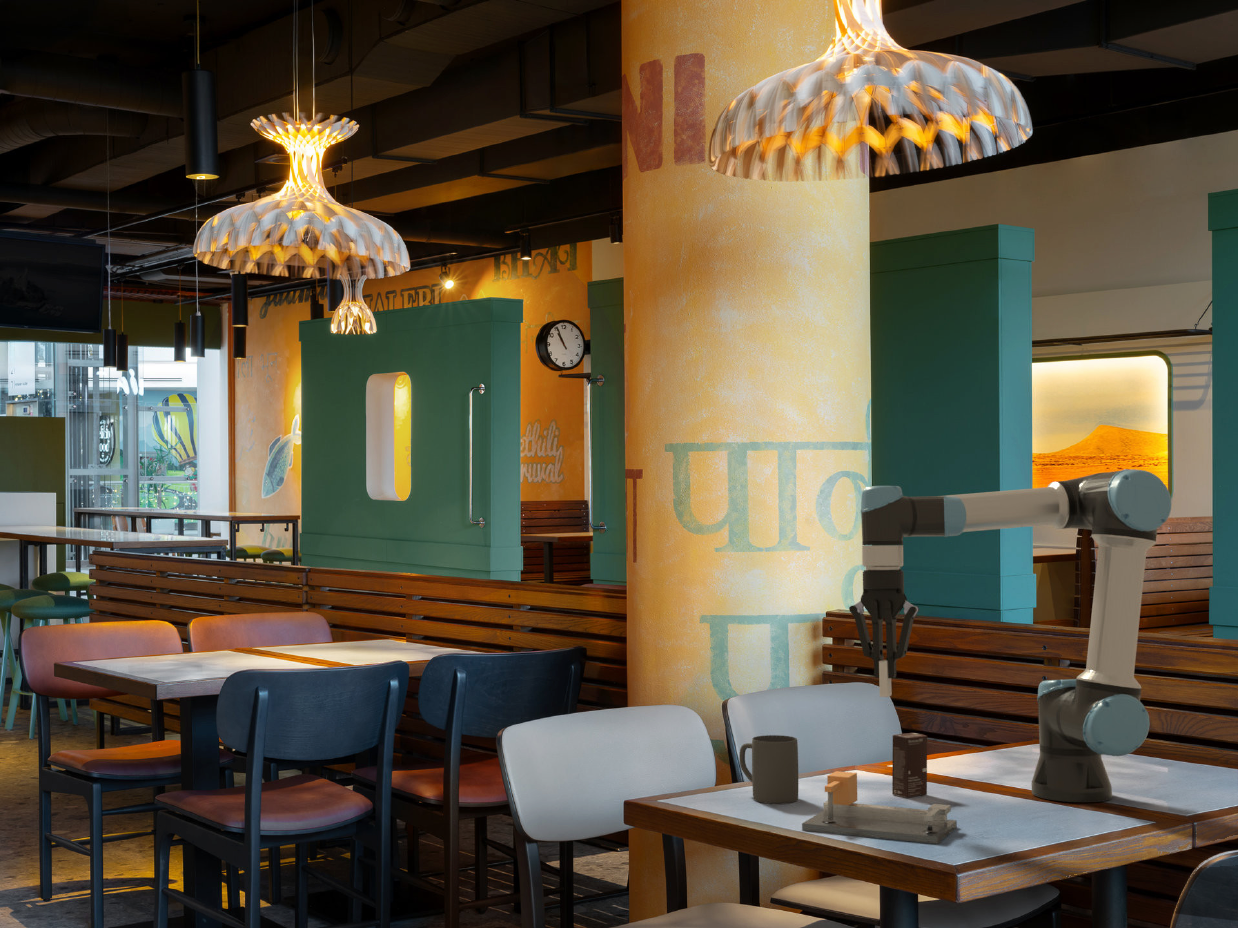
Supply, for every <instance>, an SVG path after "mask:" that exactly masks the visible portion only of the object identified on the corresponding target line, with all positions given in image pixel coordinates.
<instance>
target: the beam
mask: <svg viewBox="0 0 1238 928" xmlns="http://www.w3.org/2000/svg"><path fill="white" fill-rule="evenodd" d="M823 811H824V814H825V815H828V800H827V801H825V802H823ZM951 811H952V805H950V804H941V803H940V804H938V803H933V804H932V805H930V806H929V807H928V808H927V809H922V808H911V807H899V806H890V805H879V804H865V803H856V802H854V803H852V804H851V805H838V804H833V815H836V816H846V817H857V818H867V819H878V820H888V821H899V822H909V823H919V824H927V830H928V831H933V825H940V826H944V825H946V824H947V820H948V814H949V813H950V812H951Z"/></svg>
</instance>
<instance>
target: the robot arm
mask: <svg viewBox="0 0 1238 928" xmlns="http://www.w3.org/2000/svg"><path fill="white" fill-rule="evenodd" d="M860 499H861V501H860V513H861V514H860V515H861V538H862V539H861V540H862V543H861V550H862V551H861V553H862V554H861V559H862V561H861V562H862V566H863V568H865V569H864V570H863V571H862V594H861V596H860V601H858V602H857V603H855V604H854V605H853V604H852V605H850V606H849V607H848V610H849V612H850V613H851V615H852V617H853V618H854V622H855V626H856V628H857V633H858V637H859V641H860V646H861V648H862V653H863V654H862V655H864V657H866V658H869V659H872V661H873V675H874V678H875V679H879V683H878V684H879V687H878V688H879V698H880V697H881V698H888V697H891V696H892V695H893V694H892V692H893V691H892V690H893V689H892V679H895V678H896V677H897V661H898V659H902V658H904V657H906V655H907V652H908V648H909V643H910V639H911V634H912V629H913V625H914V624H913V623H914V620H915V617H916V616H917V614H918V613H919V611H920V607H918V606H917V605H914V604H912V603H910V602H909V601H908V599H907V596H906V594H905V581H904V580H905V573H904V571H903V569H901V568H902V567H903V566H904V541H903V540H904V538H909V537H911V538H912V537H944V538H948V537H955V536H956V537H957V536H959V535H961V534H962V533H965V532H967V533H968V532H978V531H992V530H1001V529H1004V530H1005V529H1014V528H1015V529H1016V528H1023V527H1024V528H1027V527H1039V526H1052V528H1054V529H1055V530H1063V529H1077V530H1078V529H1081V530H1082V529H1083V530H1091V535H1090V536H1091V538H1092V539H1093V541H1094V542H1095V543H1096V544H1097V546H1098V550H1097V559H1096V560H1097V561H1096V568H1095V579H1094V588H1093V589H1094V590H1093V599H1092V608H1091V618H1090V629H1089V634H1088V635H1089V638H1088V647H1087V657H1086V665H1085V667H1086V668H1085V669H1084V671H1083V672H1082V673H1080V674H1079V675H1078V676H1076V678H1075V679H1074V678H1072V679H1051V680H1050V679H1048V680H1042V681H1041V682H1040V683H1039V685H1038V689H1037V699H1036V700H1037V710H1038V711H1037V712H1038V732H1039V733H1038V734H1039V735H1038V738H1039V739H1038V740H1039V742H1038V743H1039V758H1038V759H1037V763H1036V766H1035V770H1034V772H1033V773H1034V774H1033V776H1032V780H1031V794H1032V795H1033V796H1035V797H1037V798H1041V799H1045V800H1050V801H1057V802H1066V803H1097V802H1098V803H1099V802H1105V801H1108V800H1111V799H1112V798H1113V787H1112V783H1111V781H1110V778H1109V776H1108V775H1109V774H1108V773H1107V770H1106V767H1105V765H1104V761H1103V759H1102V755H1104V756H1111V757H1112V756H1113V757H1121V756H1126V755H1129V754H1131V753H1133V752H1134V751H1136V750H1137V749H1138V748H1140V747H1141V746H1142V745H1143V744H1144V742H1145V740H1146V739H1147V736H1148V734H1149V730H1150V725H1151V723H1150V716H1149V713H1148V710H1147V709H1146V708H1145V705H1144V704H1143V703H1142V702H1141V697H1142V696H1141V695H1142V686H1141V684H1140V683H1139V682H1138V680H1137V679H1136V678H1135V667H1136V666H1135V665H1136V658H1137V649H1138V637H1139V630H1140V629H1139V628H1140V626H1139V625H1140V617H1141V609H1142V608H1141V607H1142V598H1143V589H1144V579H1145V578H1144V577H1145V569H1146V568H1145V567H1146V560H1147V559H1146V557H1147V552H1148V550H1150V548H1152V547H1154V546H1155V545H1156V544H1157V535H1158V528H1161V527H1162V525H1163V524H1165V523H1166V522H1167V520H1168V519H1169V516H1170V514H1171V510H1172V498H1171V494H1170V491H1169V489H1168V487H1167V485H1166V484H1164V482H1163V481H1162V479H1161V478H1160V477H1159V476H1157V475H1155V474H1154V473H1152V472H1150V471H1147V470H1141V469H1131V468H1129V469H1128V468H1127V469H1126V468H1124V469H1122V470H1117V471H1115V470H1114V471H1109V472H1098V473H1093V474H1089V475H1085V476H1081V477H1077V478H1072V479H1068V480H1062V481H1061V480H1060V481H1058V480H1057V481H1052V482H1050V483H1049V484H1048V485H1047V487H1036V488H1022V489H1012V490H1011V489H1010V490H999V491H985V492H975V493H961V494H960V493H959V494H949V495H938V496H935V495H934V496H929V495H928V496H906V495H904V494H903V490H902V488H901V487H900V486H898V485H873V486H871V485H870V486H869V485H868V486H866V487H864V489H863V490H862V491H861V498H860ZM903 609H904V610H903ZM865 610H866V611H867V612H868V614H869V615H870V617H871V626H872V640H871V637H870V633H869V629H868V625H867V621H866V618H865V614H864V613H865ZM902 610H903V613H904V617H903V621H902V626H901V631H900V635H899V639H898V645H897V619H898V618H897V617H898V616H899V614H900V613H901V611H902ZM883 622H884V623H885V642H886V643H885V644H886V657H885V656H884V643H883V642H884V641H883V639H884V638H883V636H884V635H883V632H884V631H883V624H884V623H883Z"/></svg>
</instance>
